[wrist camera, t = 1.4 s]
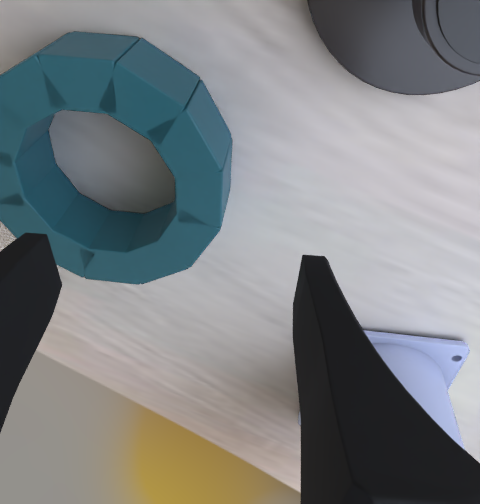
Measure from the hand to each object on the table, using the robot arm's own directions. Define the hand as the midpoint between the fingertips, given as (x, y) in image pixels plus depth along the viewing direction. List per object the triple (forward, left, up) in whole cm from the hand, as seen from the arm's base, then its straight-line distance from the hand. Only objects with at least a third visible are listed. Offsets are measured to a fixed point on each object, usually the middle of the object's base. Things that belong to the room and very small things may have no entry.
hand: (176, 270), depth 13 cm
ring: (-1, +4, -8) cm, 9 cm away
